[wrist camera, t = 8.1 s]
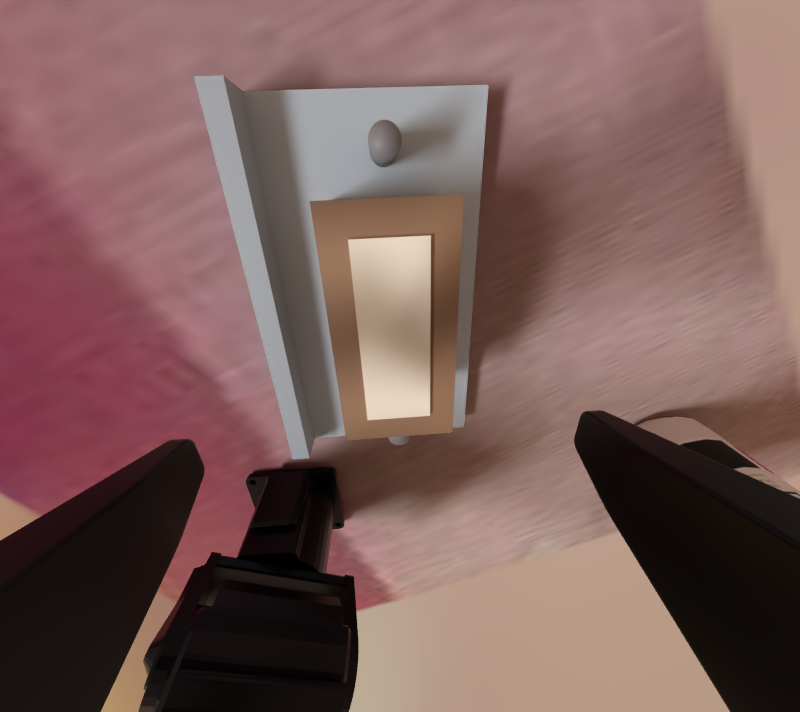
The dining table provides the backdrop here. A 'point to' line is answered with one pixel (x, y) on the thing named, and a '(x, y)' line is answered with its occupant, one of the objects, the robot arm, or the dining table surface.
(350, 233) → the brown wooden block
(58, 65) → the dining table surface
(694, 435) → the supplement can
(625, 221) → the dining table surface
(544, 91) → the dining table surface
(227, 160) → the ledge
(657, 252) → the dining table surface
